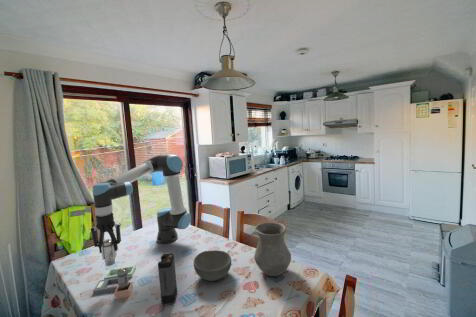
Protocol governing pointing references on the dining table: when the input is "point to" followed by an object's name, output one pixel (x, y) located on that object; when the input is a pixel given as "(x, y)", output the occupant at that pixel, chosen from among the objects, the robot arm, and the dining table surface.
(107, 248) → the cell
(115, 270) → the trough
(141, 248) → the dining table surface
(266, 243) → the vase
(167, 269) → the electronic device
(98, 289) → the cradle
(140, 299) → the dining table surface
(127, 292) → the orange open box
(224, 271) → the bowl
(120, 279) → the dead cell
